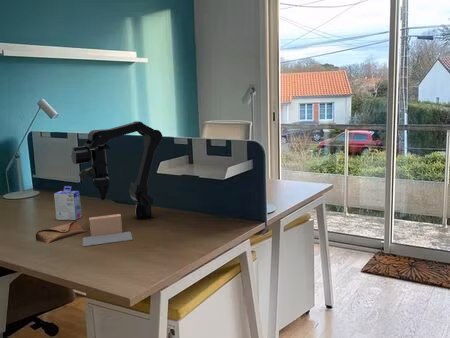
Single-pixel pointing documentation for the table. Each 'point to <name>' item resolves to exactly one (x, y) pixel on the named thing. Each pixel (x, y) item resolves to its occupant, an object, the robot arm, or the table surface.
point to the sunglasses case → (59, 232)
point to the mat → (107, 239)
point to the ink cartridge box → (67, 204)
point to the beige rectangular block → (105, 225)
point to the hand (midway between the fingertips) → (102, 197)
